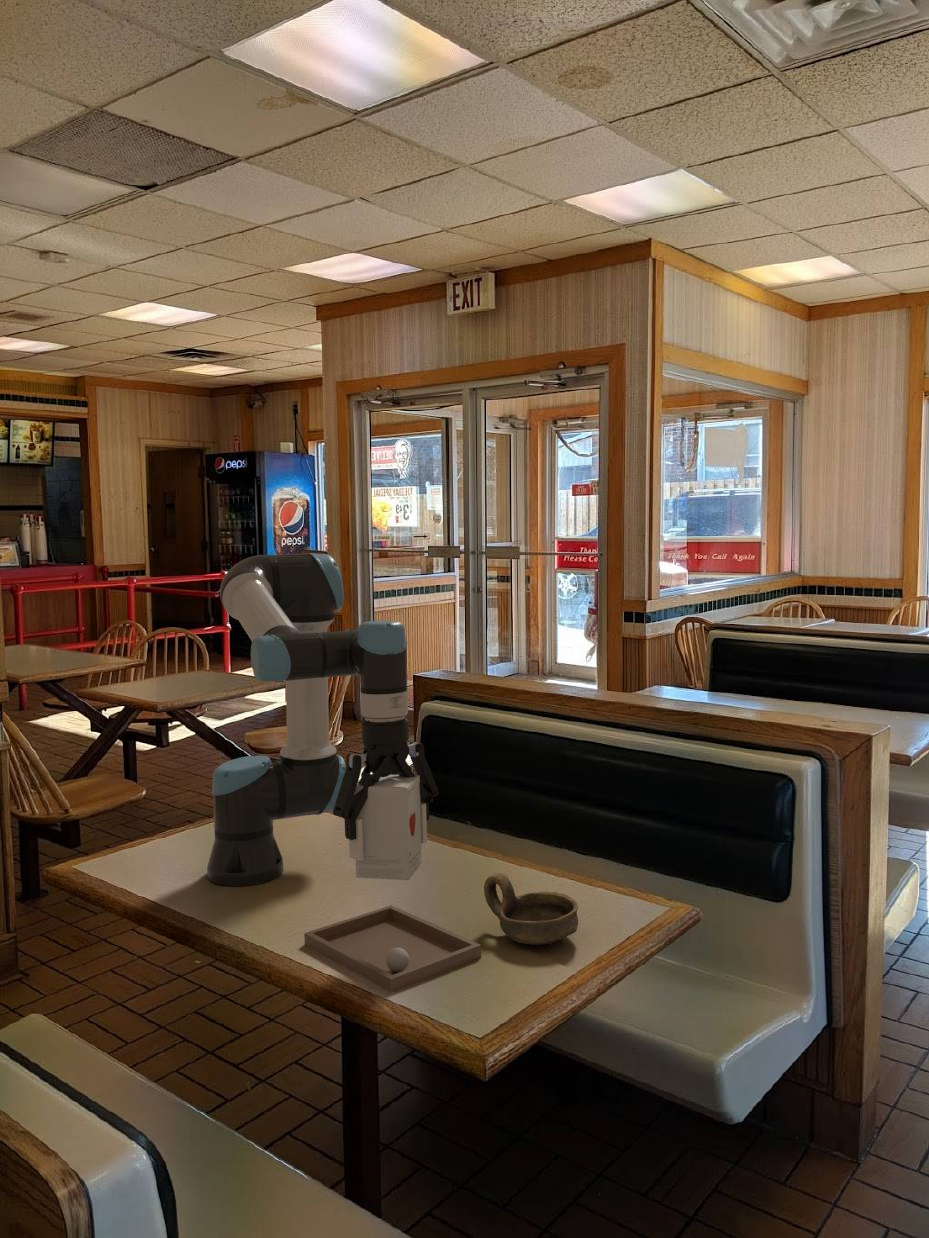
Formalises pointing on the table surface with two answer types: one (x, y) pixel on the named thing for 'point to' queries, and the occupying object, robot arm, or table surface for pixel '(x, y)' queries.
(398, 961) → the ball
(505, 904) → the bowl
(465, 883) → the table surface
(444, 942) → the tray
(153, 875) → the table surface
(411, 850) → the supplement box
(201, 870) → the table surface
